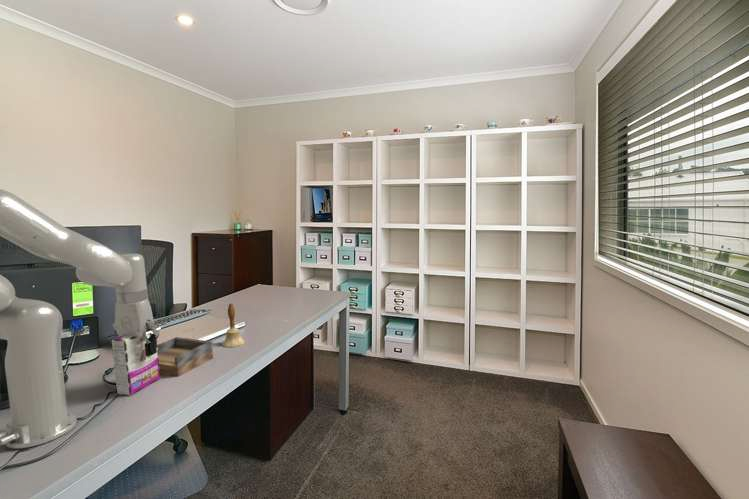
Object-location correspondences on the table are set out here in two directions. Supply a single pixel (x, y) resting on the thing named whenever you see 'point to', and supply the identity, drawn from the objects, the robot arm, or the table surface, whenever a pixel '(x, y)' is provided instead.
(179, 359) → the wooden tray
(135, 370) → the candy bar box
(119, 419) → the table surface
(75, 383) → the table surface
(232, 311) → the hand bell
